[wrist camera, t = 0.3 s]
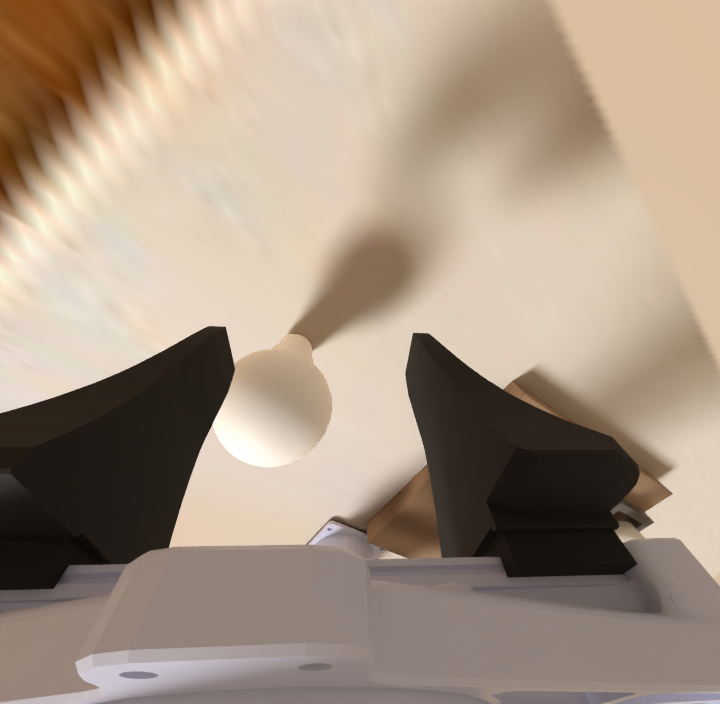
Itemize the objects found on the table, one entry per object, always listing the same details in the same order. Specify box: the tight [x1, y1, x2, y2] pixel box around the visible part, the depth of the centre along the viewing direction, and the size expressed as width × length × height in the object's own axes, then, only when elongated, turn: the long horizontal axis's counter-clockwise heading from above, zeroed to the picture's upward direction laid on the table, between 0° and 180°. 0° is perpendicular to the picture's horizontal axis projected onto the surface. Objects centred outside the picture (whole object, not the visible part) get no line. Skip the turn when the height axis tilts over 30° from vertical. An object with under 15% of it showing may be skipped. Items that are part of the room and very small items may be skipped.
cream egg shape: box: [614, 521, 645, 543], centre depth 29 cm, size 3×3×2 cm
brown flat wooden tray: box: [366, 381, 673, 559], centre depth 30 cm, size 22×22×4 cm
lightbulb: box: [213, 334, 332, 467], centre depth 18 cm, size 6×6×11 cm
